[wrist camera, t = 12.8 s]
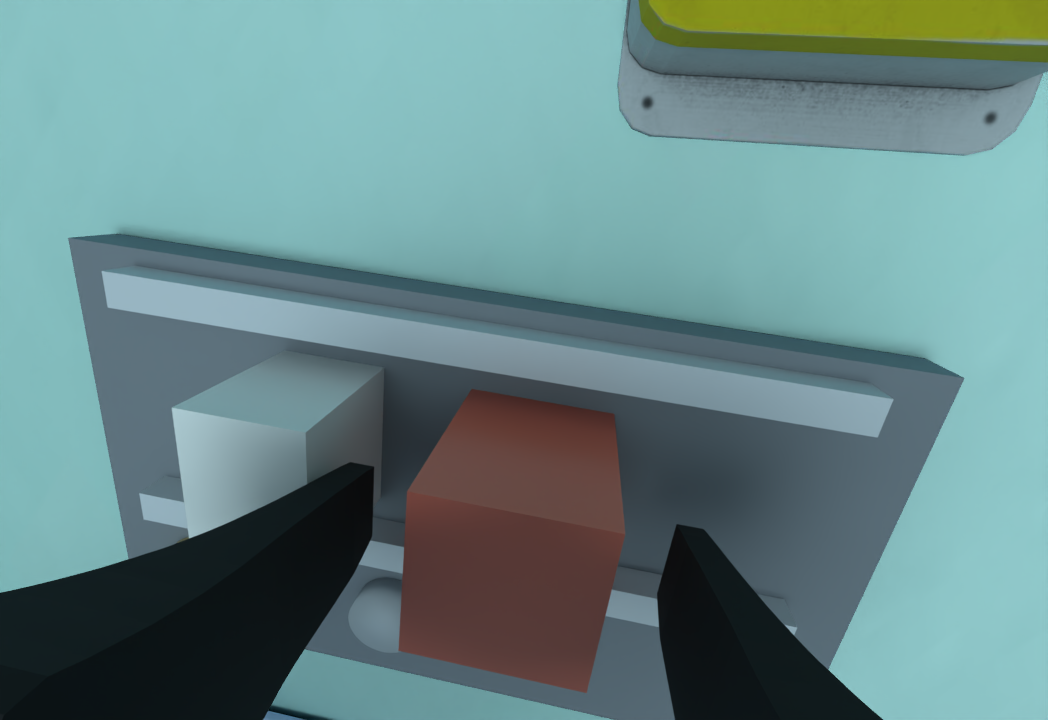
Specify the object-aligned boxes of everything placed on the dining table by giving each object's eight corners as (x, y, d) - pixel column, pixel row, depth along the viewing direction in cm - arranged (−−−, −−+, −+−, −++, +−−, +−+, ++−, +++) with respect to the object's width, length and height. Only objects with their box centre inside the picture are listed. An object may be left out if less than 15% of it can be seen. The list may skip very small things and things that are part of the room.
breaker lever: (380, 497, 15) (310, 596, 11) (290, 479, 15) (193, 571, 12) (384, 367, 14) (305, 432, 10) (284, 350, 14) (171, 407, 10)
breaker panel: (770, 714, 18) (797, 792, 15) (170, 581, 20) (114, 633, 18) (924, 358, 13) (996, 394, 11) (117, 233, 15) (29, 241, 13)
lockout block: (589, 532, 15) (586, 693, 10) (459, 507, 15) (398, 650, 10) (614, 413, 13) (625, 534, 9) (471, 388, 14) (407, 491, 9)
